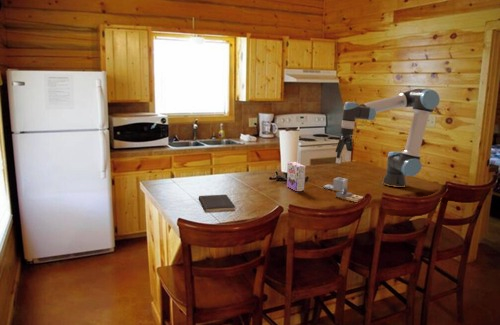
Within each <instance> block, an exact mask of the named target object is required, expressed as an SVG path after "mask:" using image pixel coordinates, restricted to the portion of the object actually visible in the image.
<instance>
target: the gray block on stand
mask: <svg viewBox="0 0 500 325" xmlns="http://www.w3.org/2000/svg"><path fill="white" fill-rule="evenodd" d="M346 179H347V178H345V179H344V180H343V190H342V191H340V192H335V197H336V196H337V197H341V198H346V197H348V196H351V195H353V194H354V193H353V192H350V191H348V184H347V180H346Z"/></svg>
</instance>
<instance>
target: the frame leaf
mask: <svg viewBox="0 0 500 325" xmlns="http://www.w3.org/2000/svg"><path fill="white" fill-rule="evenodd" d="M363 197H364V196H362V195H359V194H354V193H353V194H352V195H351V196H348V197H346V199H347V200H351V201H354V202H358V201H359V200H360V199H362V198H363Z"/></svg>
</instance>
